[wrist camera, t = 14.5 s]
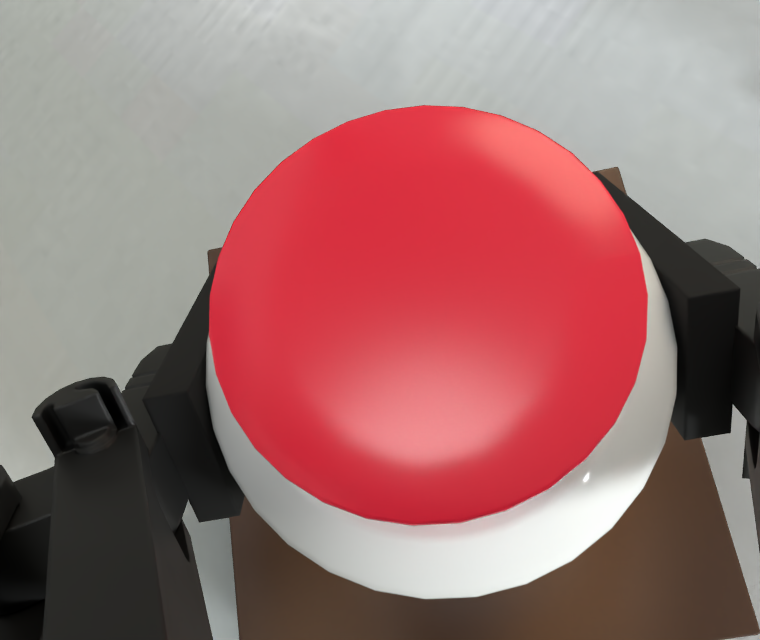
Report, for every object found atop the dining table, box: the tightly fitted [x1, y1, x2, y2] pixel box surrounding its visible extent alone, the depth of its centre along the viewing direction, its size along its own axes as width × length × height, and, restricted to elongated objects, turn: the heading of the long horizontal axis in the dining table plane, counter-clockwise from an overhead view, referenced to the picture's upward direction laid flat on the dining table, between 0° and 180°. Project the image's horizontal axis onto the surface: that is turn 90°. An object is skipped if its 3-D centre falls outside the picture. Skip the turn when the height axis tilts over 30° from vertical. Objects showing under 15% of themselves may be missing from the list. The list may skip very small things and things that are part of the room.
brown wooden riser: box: [208, 167, 760, 640], centre depth 22 cm, size 14×14×6 cm
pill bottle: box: [206, 105, 677, 599], centre depth 13 cm, size 8×8×11 cm
